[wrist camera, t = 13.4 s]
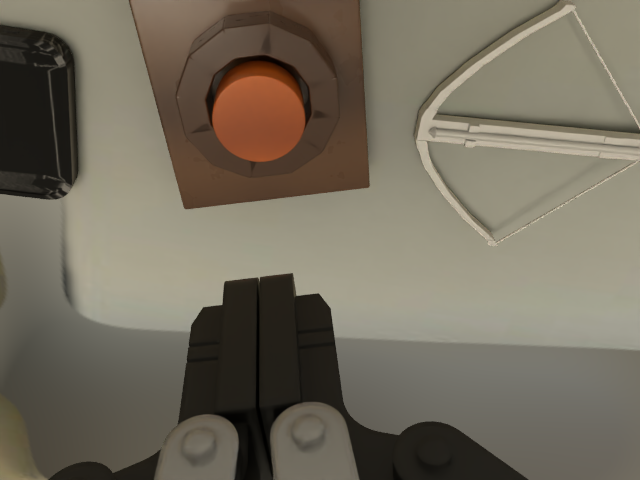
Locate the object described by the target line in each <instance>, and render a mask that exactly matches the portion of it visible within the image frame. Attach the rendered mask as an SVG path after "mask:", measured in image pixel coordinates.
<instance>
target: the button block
mask: <svg viewBox="0 0 640 480" xmlns="http://www.w3.org/2000/svg"><path fill="white" fill-rule="evenodd" d="M129 3H130V7H131V11H132V15H133V18H134V22H135V26H136V30H137V33H138V37H139V41H140V45H141V48H142V52H143V56H144V60H145V63H146V67H147V71H148V75H149V78H150V82H151V86H152V90H153V93H154V97H155V101H156V105H157V108H158V112H159V116H160V120H161V123H162V127H163V131H164V135H165V138H166V142H167V146H168V150H169V153H170V157H171V161H172V165H173V168H174V172H175V176H176V180H177V183H178V187H179V191H180V195H181V198H182V202H183V206H184V208H185V209H193V208H201V207H210V206H218V205H226V204H235V203H243V202H251V201H260V200H268V199H277V198H285V197H293V196H302V195H310V194H318V193H327V192H335V191H344V190H352V189H360V188H368V187H369V186H370V183H369V165H368V146H367V128H366V110H365V92H364V74H363V56H362V38H361V20H360V2H359V0H129ZM257 60H260V61H268V62H272V63H275V64H277V65H279V66H281V67H283V68H284V69H286V70H287V71H288V72H289V73H290V74H291V75H292V76H293V77H294V78H295V79H296V81H297V82H298V84H299V86H300V88H301V91H302V95H303V101H304V109H305V128H304V132H303V134H302V137H301V139H300V140H299V142H298V143H297V145H296V146H295V147H294V148H293V149H292V150H291V151H290V152H288V153H287V154H286V155H284V156H282V157H280V158H278V159H275V160H272V161H266V162H254V161H248V160H245V159H242V158H240V157H237V156H236V155H234V154H232V153H231V152H230V151H228V150H227V149H226V148H225V147H224V146H223V145H222V144H221V142H220V141H219V139H218V138H217V136H216V134H215V131H214V128H213V123H212V112H213V105H214V100H215V94H216V90H217V87H218V85H219V83H220V81H221V79H222V78H223V77H224V75H225V74H226V73H227V72H228V71H230V70H231V69H232V68H234V67H235V66H237V65H239V64H241V63H244V62H248V61H257Z"/></svg>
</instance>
